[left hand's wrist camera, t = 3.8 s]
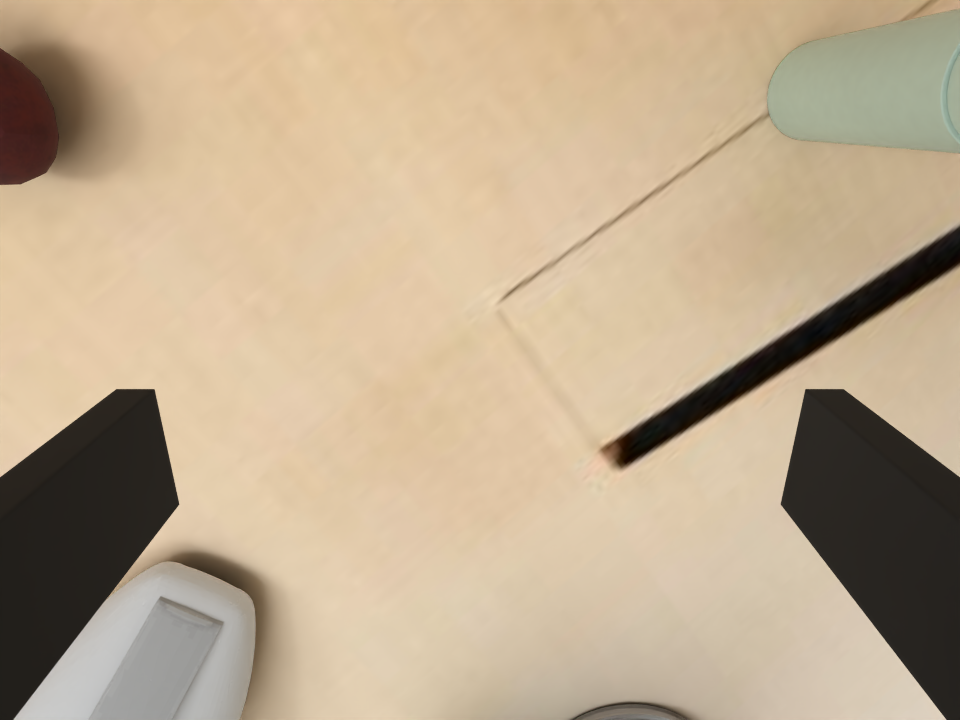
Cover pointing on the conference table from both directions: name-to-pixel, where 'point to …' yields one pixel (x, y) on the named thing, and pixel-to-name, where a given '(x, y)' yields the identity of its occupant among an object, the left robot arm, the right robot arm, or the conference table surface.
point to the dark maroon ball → (24, 124)
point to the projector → (156, 653)
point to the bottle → (874, 87)
